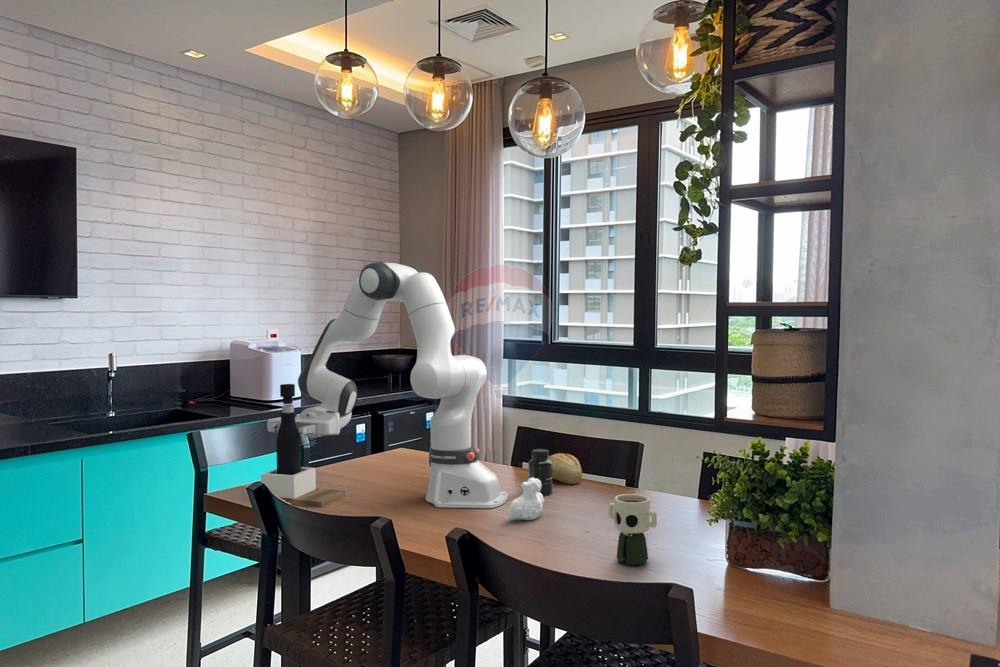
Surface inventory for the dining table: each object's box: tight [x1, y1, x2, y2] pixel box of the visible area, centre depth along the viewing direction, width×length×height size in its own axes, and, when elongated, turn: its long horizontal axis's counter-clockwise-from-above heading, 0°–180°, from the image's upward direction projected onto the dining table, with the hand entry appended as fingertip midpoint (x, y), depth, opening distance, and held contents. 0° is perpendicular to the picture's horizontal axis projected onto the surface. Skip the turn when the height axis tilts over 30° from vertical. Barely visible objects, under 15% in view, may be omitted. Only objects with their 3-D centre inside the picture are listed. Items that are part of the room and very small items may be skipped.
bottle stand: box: [260, 466, 346, 508], centre depth 192 cm, size 20×12×8 cm, turn 73°
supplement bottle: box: [527, 448, 554, 496], centre depth 196 cm, size 7×7×12 cm
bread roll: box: [548, 452, 583, 485], centre depth 210 cm, size 10×15×8 cm, turn 40°
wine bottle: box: [275, 383, 302, 475], centre depth 193 cm, size 6×6×30 cm
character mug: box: [608, 493, 658, 565], centre depth 141 cm, size 11×7×13 cm, turn 49°
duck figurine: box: [507, 477, 545, 521], centre depth 171 cm, size 12×8×11 cm
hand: (286, 430), depth 192 cm, fingers open, 8 cm apart
